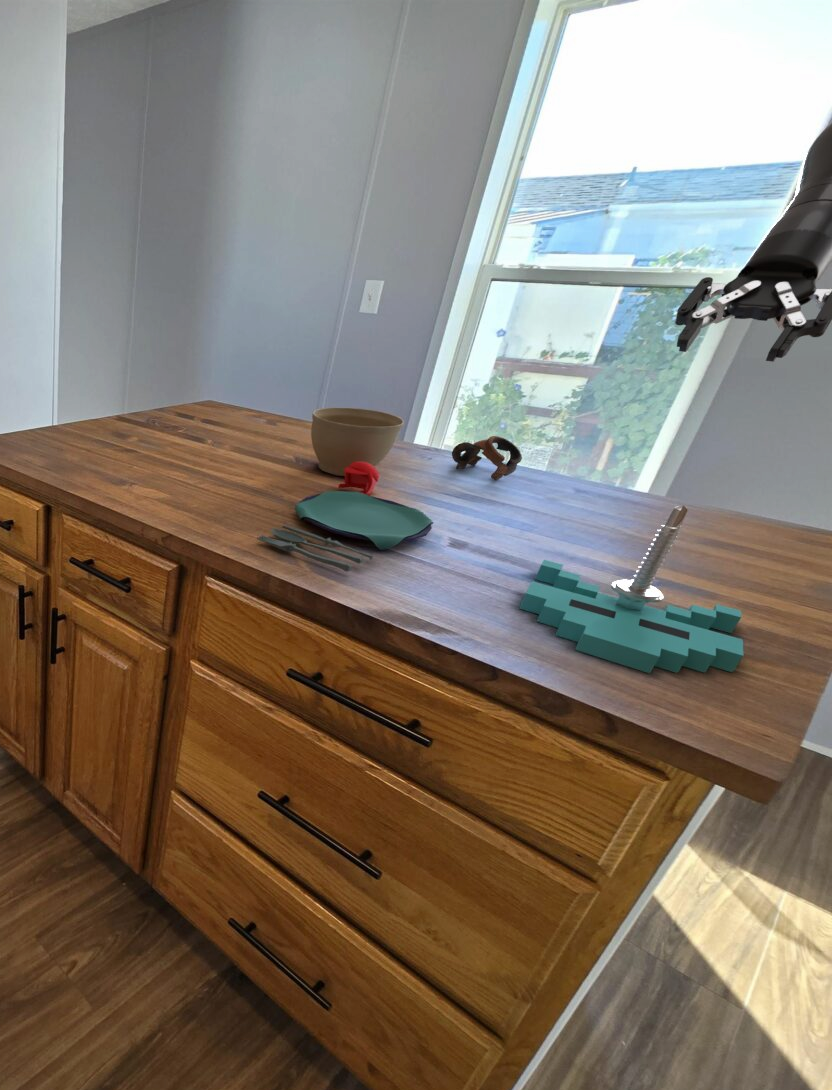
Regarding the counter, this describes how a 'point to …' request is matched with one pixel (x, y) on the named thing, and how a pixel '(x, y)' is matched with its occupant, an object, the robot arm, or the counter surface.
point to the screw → (650, 566)
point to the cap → (361, 477)
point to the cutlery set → (352, 524)
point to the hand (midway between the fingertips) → (725, 352)
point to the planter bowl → (352, 437)
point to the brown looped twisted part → (488, 455)
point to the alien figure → (633, 626)
